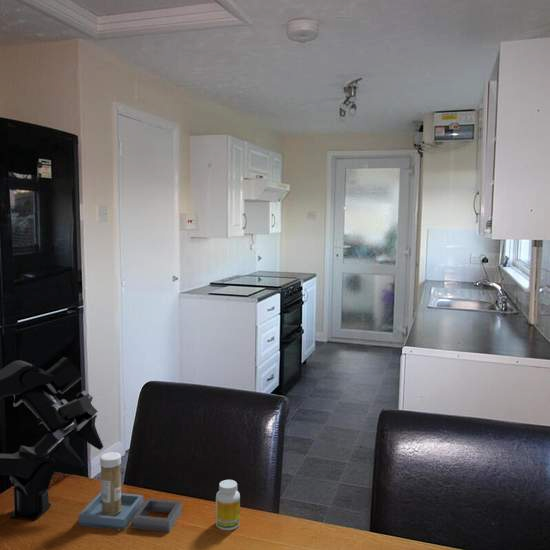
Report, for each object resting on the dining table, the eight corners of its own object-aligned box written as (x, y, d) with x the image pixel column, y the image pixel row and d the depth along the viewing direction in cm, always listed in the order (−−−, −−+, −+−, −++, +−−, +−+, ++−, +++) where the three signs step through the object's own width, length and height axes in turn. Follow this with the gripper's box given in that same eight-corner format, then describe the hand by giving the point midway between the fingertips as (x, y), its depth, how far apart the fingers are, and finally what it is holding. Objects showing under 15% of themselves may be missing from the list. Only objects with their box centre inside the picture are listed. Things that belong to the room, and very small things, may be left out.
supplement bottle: (213, 520, 122) (213, 479, 121) (236, 516, 124) (236, 476, 123) (219, 533, 117) (219, 491, 116) (242, 528, 118) (243, 487, 118)
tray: (79, 525, 119) (78, 514, 118) (101, 501, 129) (101, 491, 129) (124, 530, 117) (124, 519, 117) (143, 505, 127) (143, 495, 127)
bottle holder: (132, 528, 118) (132, 517, 118) (147, 508, 126) (147, 498, 126) (169, 532, 117) (169, 521, 116) (181, 511, 125) (181, 501, 125)
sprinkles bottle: (124, 513, 122) (123, 456, 121) (104, 519, 120) (103, 461, 119) (118, 504, 126) (117, 449, 125) (98, 509, 124) (97, 454, 122)
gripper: (45, 397, 112) (95, 452, 112) (89, 372, 131) (132, 419, 130) (12, 430, 114) (61, 484, 114) (60, 401, 133) (102, 448, 132)
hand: (92, 456), depth 122 cm, fingers open, 9 cm apart
